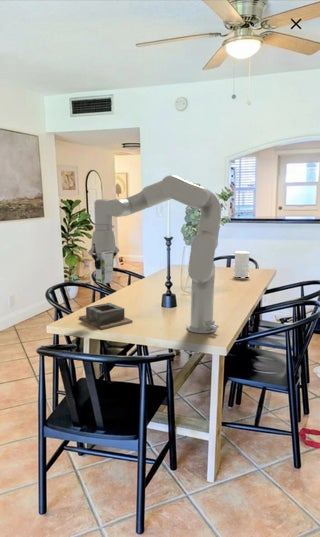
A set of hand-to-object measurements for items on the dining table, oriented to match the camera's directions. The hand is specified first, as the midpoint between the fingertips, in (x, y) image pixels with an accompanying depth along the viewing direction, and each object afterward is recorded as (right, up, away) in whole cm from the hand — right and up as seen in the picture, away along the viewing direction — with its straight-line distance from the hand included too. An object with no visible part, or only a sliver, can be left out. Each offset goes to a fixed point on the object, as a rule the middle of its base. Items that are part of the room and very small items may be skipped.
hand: (104, 267), depth 174 cm
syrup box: (0, -7, +1) cm, 7 cm away
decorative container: (+84, -7, +107) cm, 136 cm away
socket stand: (0, -24, +4) cm, 25 cm away
